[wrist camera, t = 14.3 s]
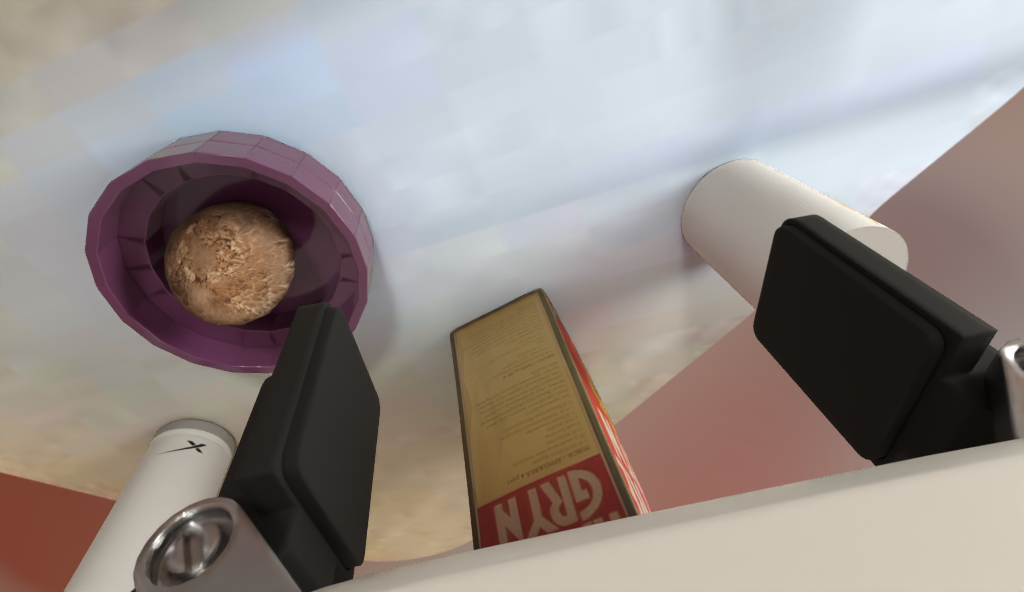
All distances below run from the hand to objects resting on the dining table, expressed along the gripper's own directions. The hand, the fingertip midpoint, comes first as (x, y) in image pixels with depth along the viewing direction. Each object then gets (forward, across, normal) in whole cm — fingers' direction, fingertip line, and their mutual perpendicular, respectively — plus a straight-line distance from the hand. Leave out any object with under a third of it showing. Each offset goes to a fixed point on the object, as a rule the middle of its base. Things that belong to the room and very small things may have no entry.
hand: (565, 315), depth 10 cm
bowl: (+23, +16, +8) cm, 30 cm away
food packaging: (+24, -1, +23) cm, 33 cm away
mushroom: (+23, +17, +7) cm, 30 cm away
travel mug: (+23, +29, +25) cm, 45 cm away
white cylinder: (+24, -18, +12) cm, 33 cm away
